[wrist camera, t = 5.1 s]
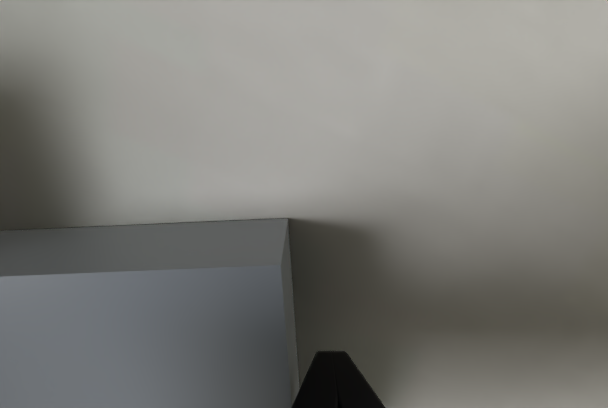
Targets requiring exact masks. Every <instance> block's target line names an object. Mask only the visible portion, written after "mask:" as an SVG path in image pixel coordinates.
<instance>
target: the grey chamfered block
mask: <svg viewBox="0 0 608 408" xmlns="http://www.w3.org/2000/svg"><path fill="white" fill-rule="evenodd" d="M299 390H300V388H299V373H298V359H297V344H296V330H295V315H294V300H293V286H292V271H291V257H290V242H289V228H288V218H281V219H258V220H235V221H213V222H190V223H167V224H145V225H122V226H100V227H77V228H54V229H32V230H9V231H0V408H291V407H292V405H293V403H294V400H295V398H296V396H297V394H298V392H299Z"/></svg>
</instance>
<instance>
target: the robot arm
mask: <svg viewBox="0 0 608 408" xmlns="http://www.w3.org/2000/svg"><path fill="white" fill-rule="evenodd" d="M291 408H385V406H384V405H383V403H382V402H381V401H380V399H379V398H378V396H377V395H376V394H375V392H374V391H373V389H372V388H371V386H370V385H369V384H368V382H367V381H366V379H365V378H364V377H363V375H362V374H361V372H360V371H359V369H358V368H357V367H356V365H355V364H354V362H353V361H352V360H351V358H350V357H349V355H348V354H347V353H346V352H345V351H317V353H316V355H315V357H314V359H313V361H312V363H311V366H310V368H309V370H308V372H307V374H306V376H305V379H304V381H303V383H302V385H301V387H300V390H299V392H298V394H297V396H296V398H295V400H294V403H293V405H292V407H291Z"/></svg>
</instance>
